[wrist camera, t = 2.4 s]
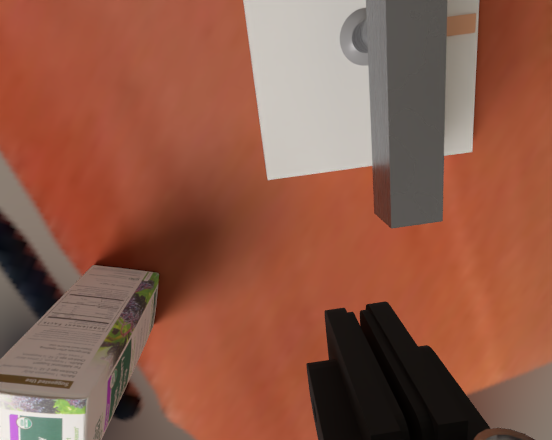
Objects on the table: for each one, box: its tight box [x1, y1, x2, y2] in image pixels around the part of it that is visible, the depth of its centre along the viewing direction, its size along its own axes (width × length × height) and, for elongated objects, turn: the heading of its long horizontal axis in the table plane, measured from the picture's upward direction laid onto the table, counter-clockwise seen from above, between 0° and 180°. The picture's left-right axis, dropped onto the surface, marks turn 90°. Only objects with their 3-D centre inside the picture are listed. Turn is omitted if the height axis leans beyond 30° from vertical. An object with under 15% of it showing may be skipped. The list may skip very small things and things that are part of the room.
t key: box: [352, 0, 447, 228], centre depth 21 cm, size 22×3×8 cm, turn 7°
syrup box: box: [0, 265, 159, 440], centre depth 25 cm, size 6×6×14 cm
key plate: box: [243, 0, 479, 180], centre depth 26 cm, size 18×16×2 cm
